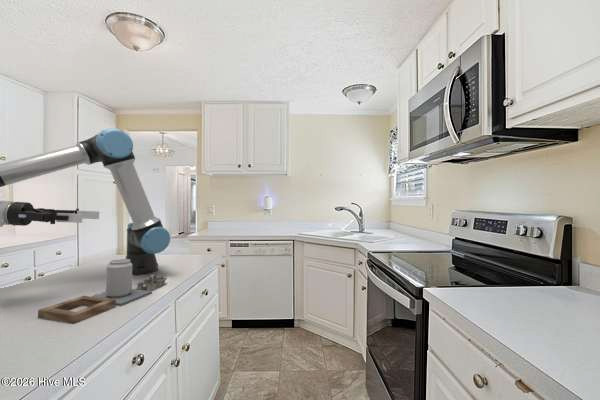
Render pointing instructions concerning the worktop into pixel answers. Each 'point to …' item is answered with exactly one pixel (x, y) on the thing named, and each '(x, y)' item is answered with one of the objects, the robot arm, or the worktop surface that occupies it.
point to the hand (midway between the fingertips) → (90, 216)
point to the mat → (126, 299)
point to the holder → (62, 313)
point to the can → (119, 278)
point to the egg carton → (150, 283)
